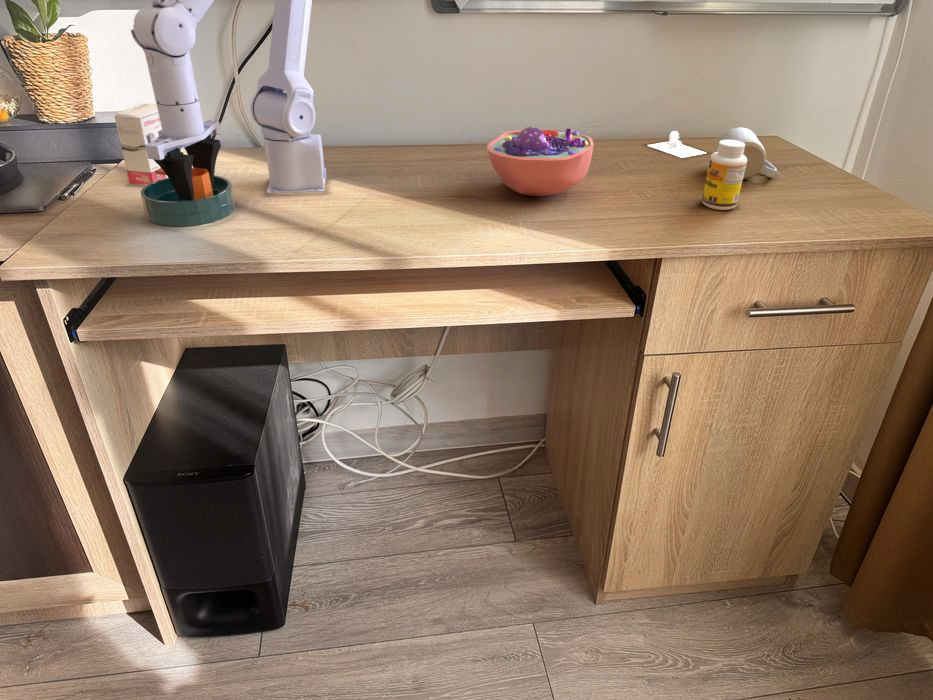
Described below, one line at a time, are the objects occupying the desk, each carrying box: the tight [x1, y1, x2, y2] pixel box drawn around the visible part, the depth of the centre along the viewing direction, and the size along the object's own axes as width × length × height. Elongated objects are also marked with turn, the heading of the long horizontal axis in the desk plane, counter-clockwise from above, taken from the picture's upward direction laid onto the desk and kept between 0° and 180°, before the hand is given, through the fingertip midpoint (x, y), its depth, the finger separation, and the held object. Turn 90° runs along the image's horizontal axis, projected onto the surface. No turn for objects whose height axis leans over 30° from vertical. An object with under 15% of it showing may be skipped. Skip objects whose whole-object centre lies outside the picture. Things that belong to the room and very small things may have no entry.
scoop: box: [155, 167, 213, 201], centre depth 104 cm, size 8×4×4 cm, turn 73°
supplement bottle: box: [701, 140, 747, 211], centre depth 109 cm, size 6×6×10 cm
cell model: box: [486, 126, 595, 197], centre depth 114 cm, size 17×20×11 cm
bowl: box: [140, 174, 236, 227], centre depth 105 cm, size 13×13×4 cm
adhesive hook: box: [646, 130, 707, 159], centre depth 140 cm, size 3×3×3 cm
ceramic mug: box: [714, 126, 778, 180], centre depth 124 cm, size 11×8×8 cm
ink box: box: [114, 103, 168, 186], centre depth 117 cm, size 9×5×12 cm, turn 168°
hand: (197, 193), depth 104 cm, fingers closed on scoop, 4 cm apart
